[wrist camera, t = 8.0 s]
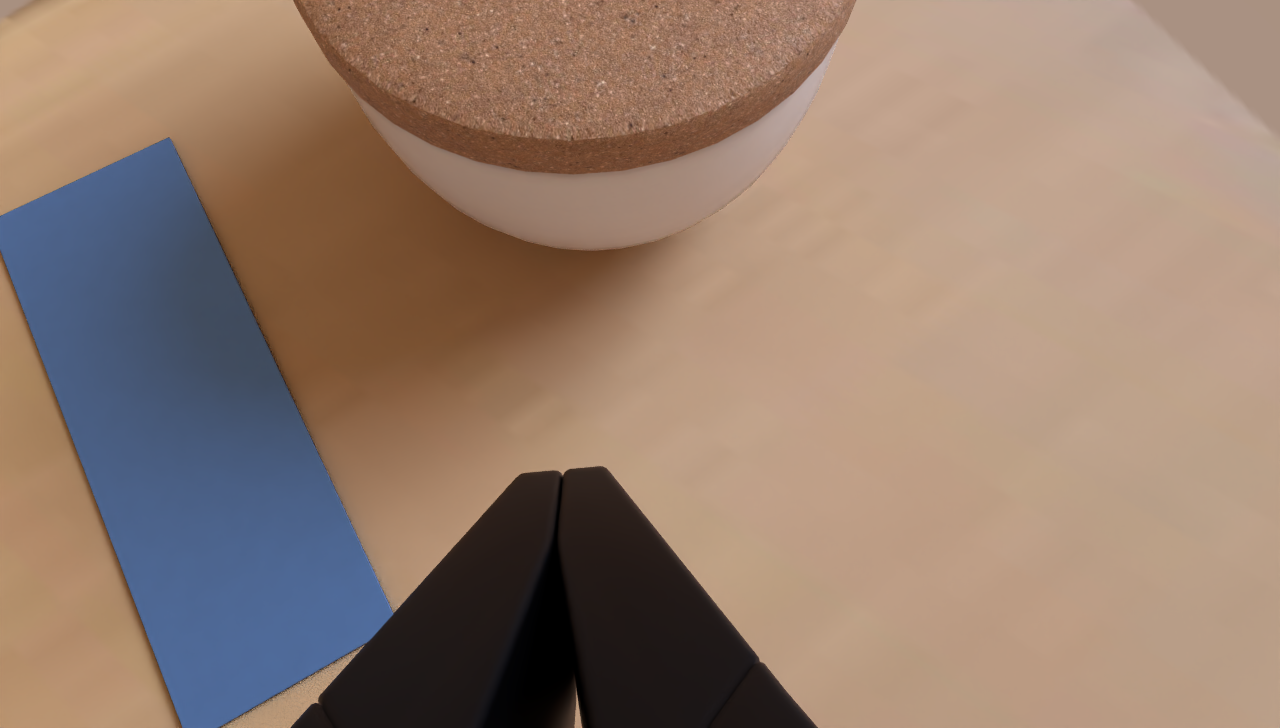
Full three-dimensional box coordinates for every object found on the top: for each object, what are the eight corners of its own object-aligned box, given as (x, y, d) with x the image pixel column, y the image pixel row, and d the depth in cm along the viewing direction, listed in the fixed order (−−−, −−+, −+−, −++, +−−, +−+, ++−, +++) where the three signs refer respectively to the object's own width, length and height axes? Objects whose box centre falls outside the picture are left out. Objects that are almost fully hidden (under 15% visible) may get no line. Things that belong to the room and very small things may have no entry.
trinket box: (353, 19, 24) (179, -353, 15) (724, -82, 25) (765, -488, 16) (450, 375, 21) (301, 169, 12) (871, 246, 22) (1024, -36, 13)
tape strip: (191, 743, 19) (188, 744, 18) (-9, 222, 22) (-12, 220, 22) (398, 624, 19) (397, 624, 19) (171, 138, 23) (169, 136, 23)
